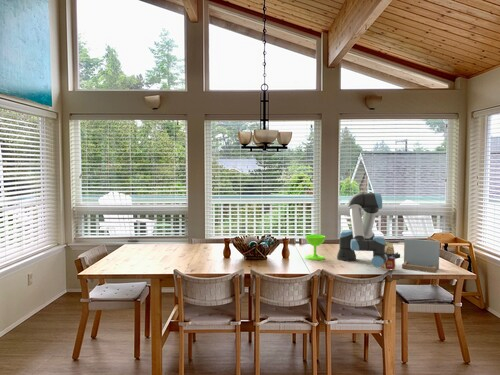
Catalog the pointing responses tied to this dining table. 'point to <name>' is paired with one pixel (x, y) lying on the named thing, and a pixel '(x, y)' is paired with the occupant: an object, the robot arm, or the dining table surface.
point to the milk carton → (390, 263)
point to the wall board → (421, 255)
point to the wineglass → (315, 241)
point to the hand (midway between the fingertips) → (389, 252)
